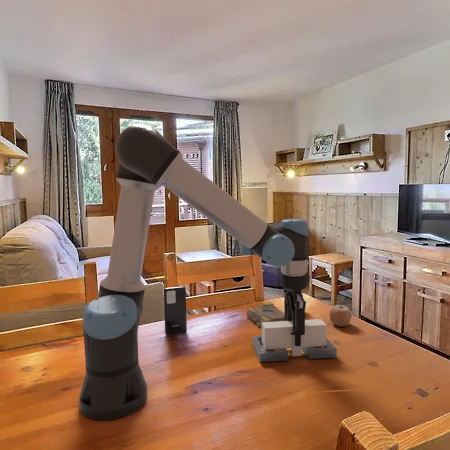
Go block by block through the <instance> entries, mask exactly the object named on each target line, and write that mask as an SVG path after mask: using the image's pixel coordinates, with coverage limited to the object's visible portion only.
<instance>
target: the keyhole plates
mask: <svg viewBox="0 0 450 450" xmlns="http://www.w3.org/2000/svg"><path fill="white" fill-rule="evenodd" d="M252 345H253V348H254V350H255V353H256V355H257V357H258V361H259V362H260V363H265V362H266V363H268V362H285V361H287V362H288V361H289V351H288V348H285V349H275V351H266V350H265V349H264V347H263V344H262V335H254V336H253V335H252ZM337 350H338V349H337V348H336V346H334V344H333V343H332V342H331V341H330V340H329V339H328V338H327V337H326V346H322V348H314V347H302V352H304V354H305V355H306V357H307V358H308V359H309V360H316V359H330V358H332V359H333V358H337V357H338V356H337V352H338V351H337Z"/></svg>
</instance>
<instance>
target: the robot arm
mask: <svg viewBox="0 0 450 450" xmlns="http://www.w3.org/2000/svg"><path fill="white" fill-rule="evenodd" d="M115 154H116V158H117V160H118V163H117V170H116V177H115V180H116V181H117V182H118V184H119V185H120V189H119V191H120V192H119V199H118V203H117V211H116V216H115V217H116V218H115V224H114V231H113V237H112V244H111V248H110V249H111V250H110V257H109V263H108V270H107V276H106V277H105V278H102V280H100V282H99V288H98V294H97V295H98V296H97V298H96V299H94V300H91V301H90V302H88V303H87V304H86V306H85V307H84V309H83V311H82V319H81V320H82V321H81V324H82V329H83V344H84V346H83V347H84V359H85V360H84V361H85V363H84V364H85V375H84V379H83V382H82V386H81V390H80V393H79V401H78V402H79V410H80V413H81V414H82V415H83V416H85V418H86V417H87V418H89V419H90V420H91V419H92V420H95V421H97V420H99V421H109V420H116V419H120V418H123V417H126V416H127V415H131V414H132V413H134V412H135V411H137V410H139V409H141V407H142V406H143V405H144V404H145V403H146V401H147V399H148V385H147V381H146V379H145V376H144V375H143V372H142V369H141V366H140V364H139V341H138V340H139V338H138V336H139V335H138V333H139V332H138V331H139V326H140V320H141V317H142V313H143V307H144V305H143V303H144V297H145V290H146V286H145V284H144V283H143V282H142V280H141V279H142V273H143V266H144V260H145V253H146V248H147V240H148V237H149V236H148V235H149V228H150V222H151V217H152V212H153V211H152V209H153V205H154V199H155V192H156V191H158V190H159V189H160V188H161V187H164V188H166V189H167V190H169V192H172V193H173V194H174V195H175V196H177V197H178V198H179V199H180V200H182V201H183V202H185V203H186V204H187V205H189V206H190V207H191V208H192V209H194V210H195V211H197V212H198V213H200V214H201V215H202V216H203V217H205V218H206V219H207V220H209V221H210V222H212V223H213V224H214V225H216V226H217V227H219V228H220V229H221V230H223V231H224V232H225V233H227V234H228V235H230V236H231V237H232V238H234V239H235V240H237V242H238V247H239V251H240V253H241V255H243V256H257V257H259V258H260V259H262V260H263V261H264V262H266V263H267V264H268V265H270V266H271V267H272V266H273V267H277V268H280V272H281V274H280V285H281V287H282V288H284V289H283V295H284V296H283V297H284V300H283V304H284V320H285V321H292V324H293V332H292V333H291V335H292V348H291V357H302V356H303V355H302V353H303V350H302V335H305V320H306V307H307V306H306V305H307V302H306V300H305V301H302V300H303V298H304V295H303V292H302V291H303V290H304V289H306V288H308V286H309V284H308V283H309V282H308V281H309V280H308V278H309V277H308V274H307V273H308V268H309V267H308V266H309V265H310V261H308V260H309V258H308V257H309V256H308V254H309V253H308V251H309V225H308V222H307V221H306V220H305V219H300V218H288V219H282V220H281V222H280V226H275V227H274V226H273V227H272V226H271V225H269V224H268V223H267V222H266V221H264V220H263V219H261V218H260V217H259V216H258V215H257V214H255V213H254V212H253V211H252V210H250V209H248V208H247V207H246V206H245V205H243V204H242V203H241V202H240V201H238V200H237V199H236V198H234V197H233V196H231V194H229V193H228V192H226V191H225V190H224V189H223V188H222V187H220V186H218V184H216V183H215V182H213V181H212V180H211V179H209V178H208V177H207V176H206V175H204V174H203V173H202V172H200V171H199V170H198V169H196V168H195V167H194V166H193V165H191V164H190V163H189V162H188V161H186V160H185V159H184V158H183V153H182V151H180V150H179V149H178V148H176V147H175V146H174V145H173V144H171V142H169V140H167V138H165V137H164V136H163V135H162V133H160V132H159V131H158V130H157V129H156V128H154V127H152V126H150V125H147V124H142V123H140V124H138V123H136V124H133V125H130V126H128V127H125V128H124V129H123V130H122V131H121V132H120V133H119V134H118V137H117V139H116V142H115Z"/></svg>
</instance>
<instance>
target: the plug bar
mask: <svg viewBox="0 0 450 450" xmlns="http://www.w3.org/2000/svg"><path fill="white" fill-rule="evenodd" d="M327 330H328V329H327V324H326V323H325V321H323V320H322V319H321V318H319V319H318V318H317V319H316V318H315V319H305V335H302V347H314V348H323V346H326V338H327V332H328V331H327ZM292 332H293V324H292V321H278V322H262V328H261V336H262V344H263V347H264V349H265V350H266V351H276V350H277V349H285V348H286V349H292V335H291V333H292Z"/></svg>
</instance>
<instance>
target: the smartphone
mask: <svg viewBox="0 0 450 450" xmlns="http://www.w3.org/2000/svg"><path fill="white" fill-rule="evenodd" d="M186 290H187V288H186V286H174V287H165V288H164V289H163V309H164V312H163V313H164V314H163V315H164V334H165V335H166V336H172V335H173V336H174V335H180V334H181V335H182V334H186V333H188V327H187V326H188V322H187V321H188V319H187V293H186V292H187V291H186Z"/></svg>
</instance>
